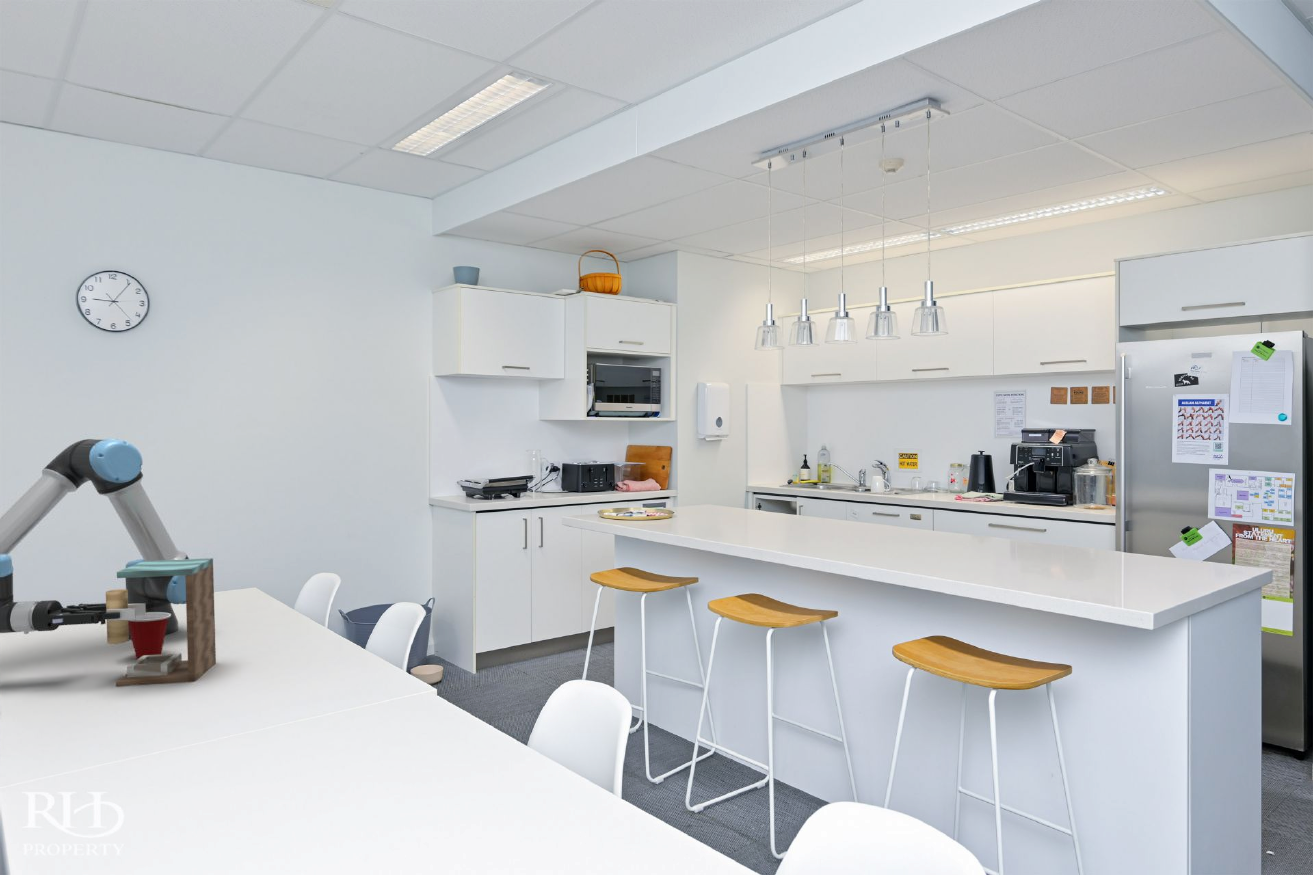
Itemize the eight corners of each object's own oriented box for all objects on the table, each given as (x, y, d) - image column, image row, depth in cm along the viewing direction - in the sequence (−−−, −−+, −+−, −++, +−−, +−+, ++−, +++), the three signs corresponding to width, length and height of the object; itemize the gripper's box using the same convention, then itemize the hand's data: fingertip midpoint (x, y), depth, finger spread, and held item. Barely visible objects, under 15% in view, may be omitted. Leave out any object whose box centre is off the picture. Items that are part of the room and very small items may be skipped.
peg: (112, 639, 208) (111, 589, 208) (132, 638, 209) (130, 588, 209) (103, 644, 204) (102, 593, 203) (123, 643, 204) (122, 592, 204)
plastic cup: (178, 656, 224) (176, 613, 224) (133, 665, 216) (131, 621, 216) (165, 649, 232) (163, 607, 231) (121, 657, 224) (119, 615, 223)
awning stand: (142, 667, 215) (139, 561, 214) (215, 662, 218) (212, 558, 217) (116, 686, 200) (112, 572, 199) (194, 681, 204) (191, 568, 203)
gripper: (58, 621, 212) (155, 616, 216) (18, 640, 194) (124, 635, 198) (57, 593, 211) (154, 589, 216) (16, 609, 194) (123, 604, 198)
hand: (140, 611), depth 207 cm, fingers closed on peg, 4 cm apart
